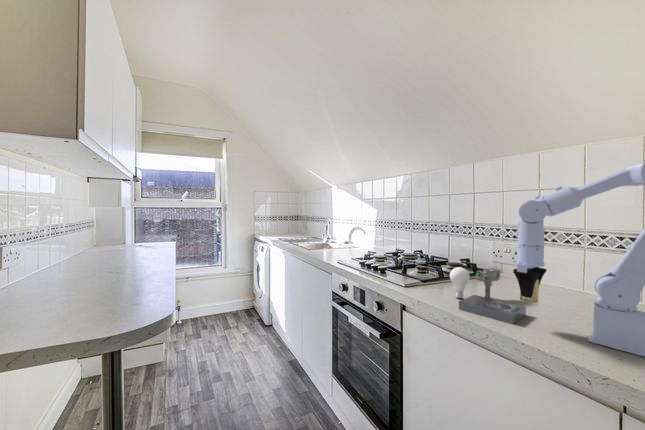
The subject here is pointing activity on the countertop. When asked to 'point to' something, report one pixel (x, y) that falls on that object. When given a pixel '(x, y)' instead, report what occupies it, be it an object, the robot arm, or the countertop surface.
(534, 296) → the cylinder
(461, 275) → the lightbulb
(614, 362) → the countertop surface
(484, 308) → the plate
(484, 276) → the mechanical component
